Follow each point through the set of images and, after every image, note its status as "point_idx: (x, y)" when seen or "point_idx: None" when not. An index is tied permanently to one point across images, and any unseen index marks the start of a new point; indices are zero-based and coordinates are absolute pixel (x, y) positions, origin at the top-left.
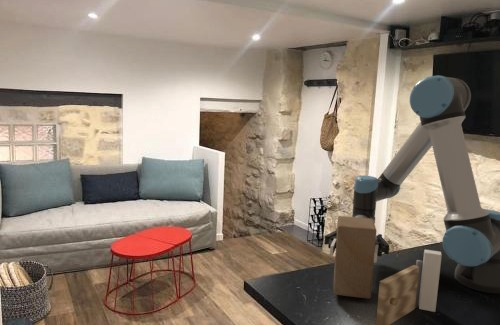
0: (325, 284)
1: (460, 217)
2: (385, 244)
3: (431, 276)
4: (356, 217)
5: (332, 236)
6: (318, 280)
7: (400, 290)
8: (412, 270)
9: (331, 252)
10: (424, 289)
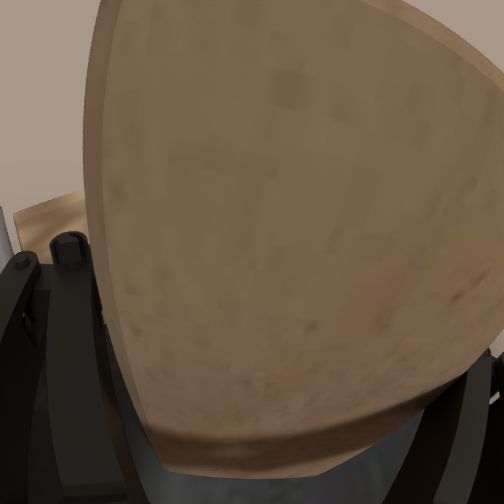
0: (339, 465)
1: None
2: (22, 275)
3: None
4: (465, 45)
5: (499, 420)
6: (368, 484)
7: None
8: (56, 198)
9: None
10: None
